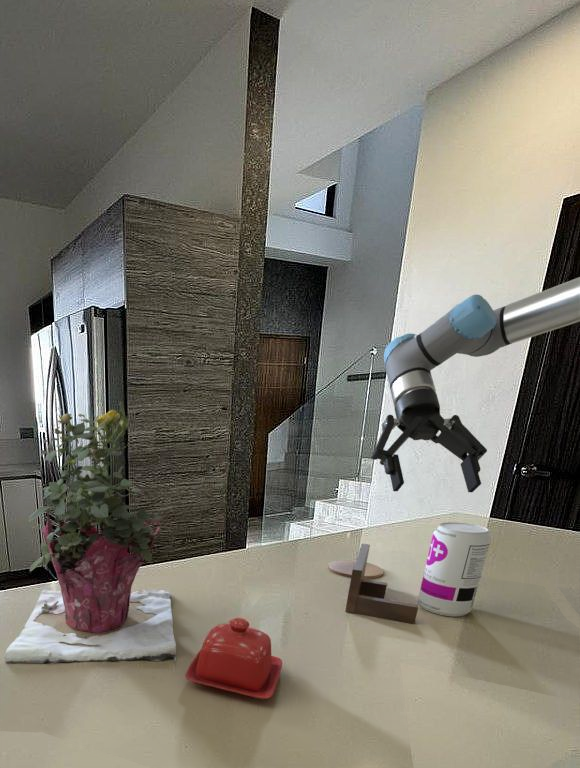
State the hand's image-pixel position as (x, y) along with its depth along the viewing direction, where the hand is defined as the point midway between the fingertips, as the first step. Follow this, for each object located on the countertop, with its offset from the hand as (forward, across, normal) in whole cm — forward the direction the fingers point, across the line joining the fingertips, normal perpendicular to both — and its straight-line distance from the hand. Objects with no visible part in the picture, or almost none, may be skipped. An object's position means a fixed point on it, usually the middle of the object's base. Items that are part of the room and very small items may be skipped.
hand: (436, 487), depth 89 cm
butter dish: (+40, +40, +11) cm, 58 cm away
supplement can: (+22, 0, -7) cm, 23 cm away
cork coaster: (+7, +8, -21) cm, 24 cm away
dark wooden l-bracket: (+19, +9, -9) cm, 23 cm away
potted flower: (+29, +61, +1) cm, 67 cm away
